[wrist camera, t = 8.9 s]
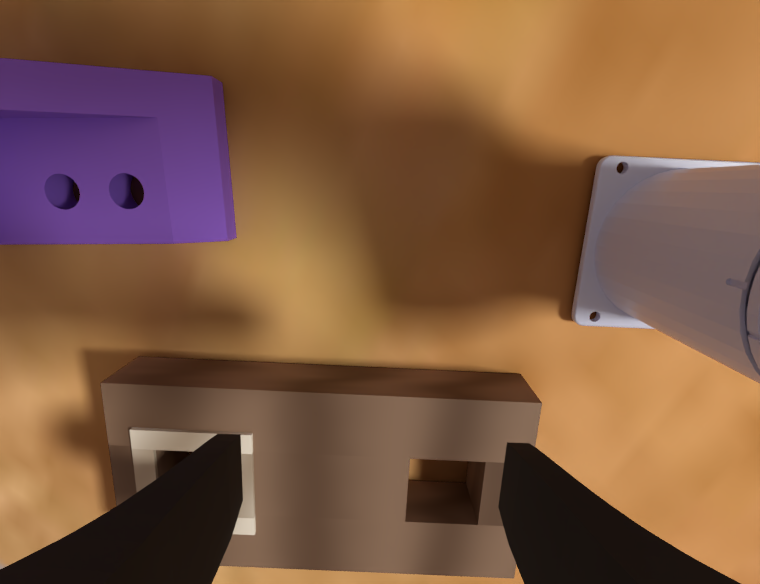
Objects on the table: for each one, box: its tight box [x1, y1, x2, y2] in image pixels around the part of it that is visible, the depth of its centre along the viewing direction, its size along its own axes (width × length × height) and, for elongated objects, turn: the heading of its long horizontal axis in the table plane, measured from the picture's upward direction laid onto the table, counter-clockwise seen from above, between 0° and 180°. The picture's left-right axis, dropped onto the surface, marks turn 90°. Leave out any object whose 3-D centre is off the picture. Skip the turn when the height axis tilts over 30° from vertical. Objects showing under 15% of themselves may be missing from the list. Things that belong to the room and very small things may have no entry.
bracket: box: [0, 58, 237, 244], centre depth 16 cm, size 12×7×7 cm, turn 90°
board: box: [100, 356, 542, 578], centre depth 21 cm, size 20×10×3 cm, turn 87°
